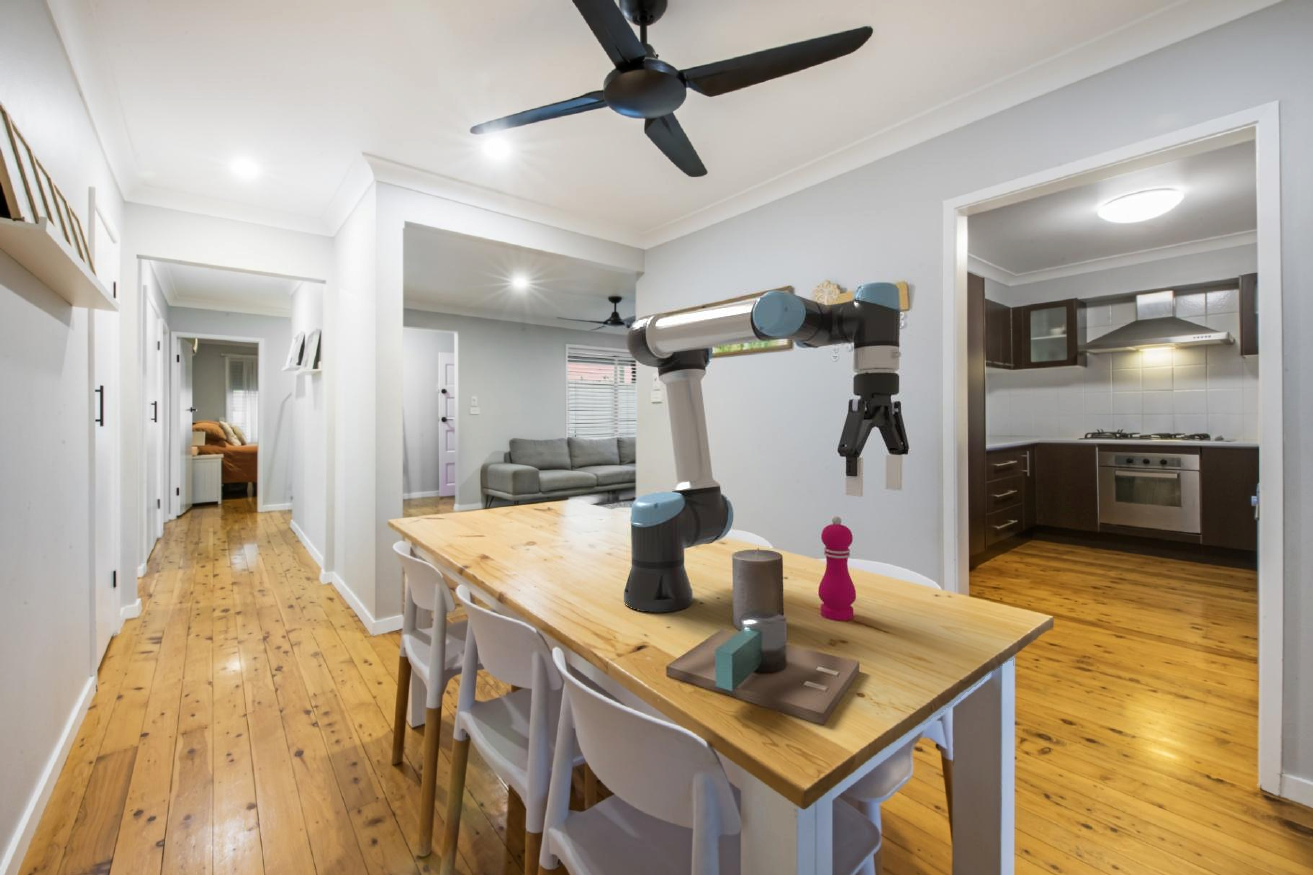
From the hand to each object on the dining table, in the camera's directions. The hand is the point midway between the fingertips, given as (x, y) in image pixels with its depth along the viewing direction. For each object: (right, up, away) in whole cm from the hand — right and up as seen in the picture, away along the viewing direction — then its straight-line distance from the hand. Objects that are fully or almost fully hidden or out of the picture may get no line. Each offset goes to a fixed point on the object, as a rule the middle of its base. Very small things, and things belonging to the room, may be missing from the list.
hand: (874, 492), depth 93 cm
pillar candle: (-19, -27, +7) cm, 34 cm away
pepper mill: (-2, -26, +12) cm, 29 cm away
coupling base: (-22, -27, -13) cm, 37 cm away
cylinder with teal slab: (-25, -25, -16) cm, 39 cm away
